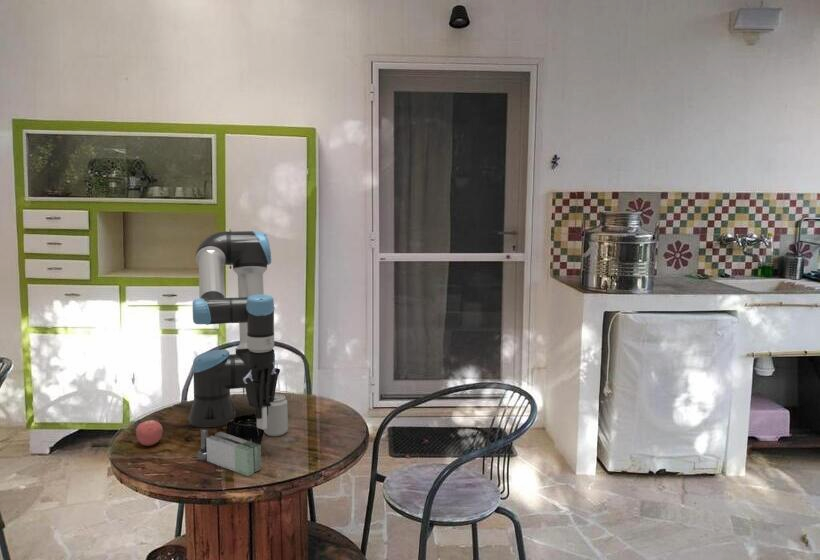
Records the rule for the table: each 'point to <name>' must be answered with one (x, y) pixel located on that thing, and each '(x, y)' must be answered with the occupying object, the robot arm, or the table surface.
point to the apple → (149, 432)
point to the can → (277, 417)
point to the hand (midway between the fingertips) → (261, 427)
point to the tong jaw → (247, 443)
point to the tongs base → (226, 454)
